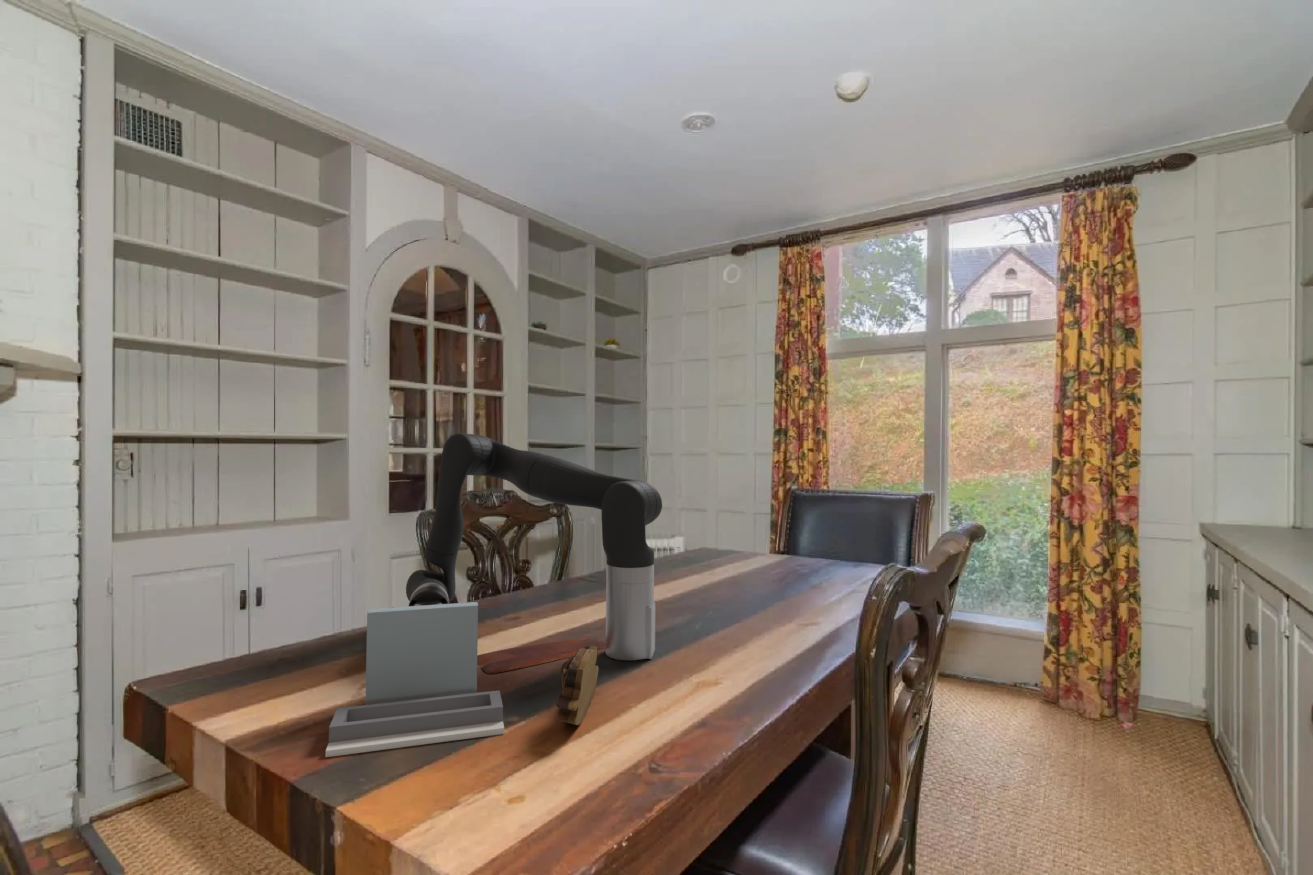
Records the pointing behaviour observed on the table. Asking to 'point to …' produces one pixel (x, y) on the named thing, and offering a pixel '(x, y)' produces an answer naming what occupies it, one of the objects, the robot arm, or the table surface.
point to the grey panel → (421, 652)
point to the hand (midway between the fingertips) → (426, 625)
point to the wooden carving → (577, 685)
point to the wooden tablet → (533, 654)
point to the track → (415, 722)
